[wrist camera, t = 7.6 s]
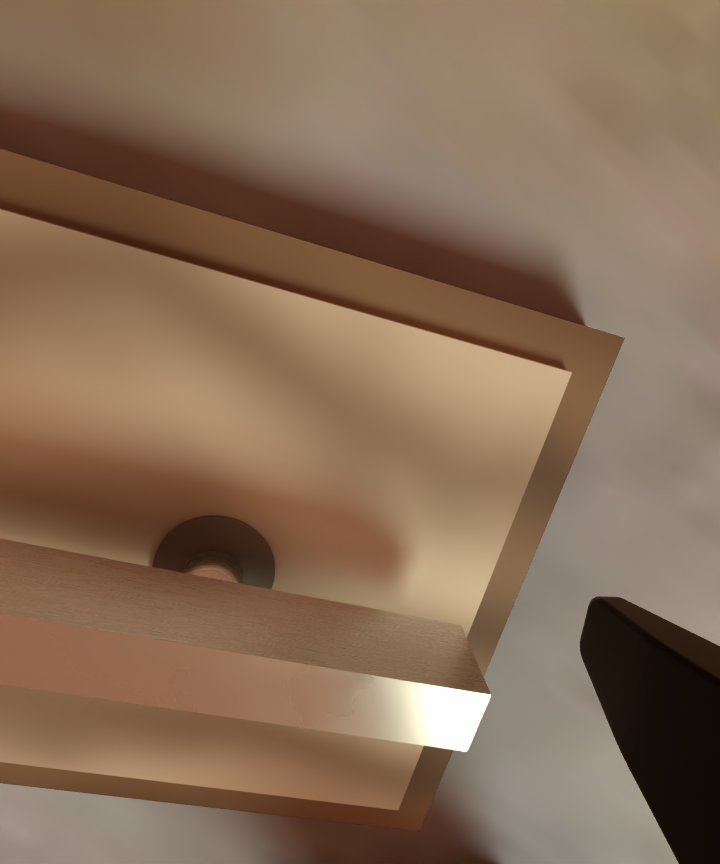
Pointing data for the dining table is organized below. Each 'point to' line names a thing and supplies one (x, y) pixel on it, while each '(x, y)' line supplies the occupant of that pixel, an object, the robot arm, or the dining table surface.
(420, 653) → the T-key
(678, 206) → the dining table surface
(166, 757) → the brown square tray
